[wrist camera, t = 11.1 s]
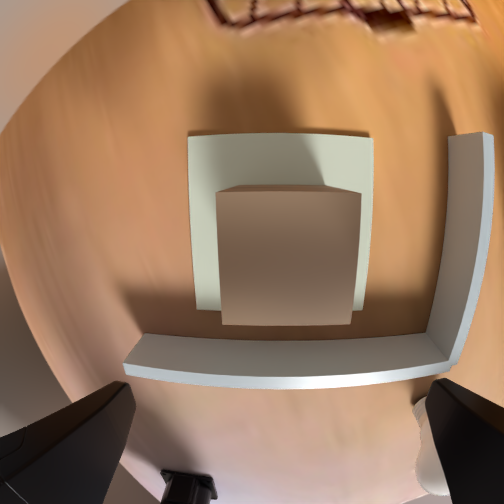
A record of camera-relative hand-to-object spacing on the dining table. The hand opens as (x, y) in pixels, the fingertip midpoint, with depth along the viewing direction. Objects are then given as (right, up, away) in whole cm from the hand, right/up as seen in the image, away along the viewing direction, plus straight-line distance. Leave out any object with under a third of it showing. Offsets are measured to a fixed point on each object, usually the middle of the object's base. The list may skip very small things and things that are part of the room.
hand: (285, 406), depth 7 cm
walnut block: (+1, +6, +10) cm, 11 cm away
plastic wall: (+2, +4, +11) cm, 12 cm away
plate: (+1, +6, +10) cm, 12 cm away
